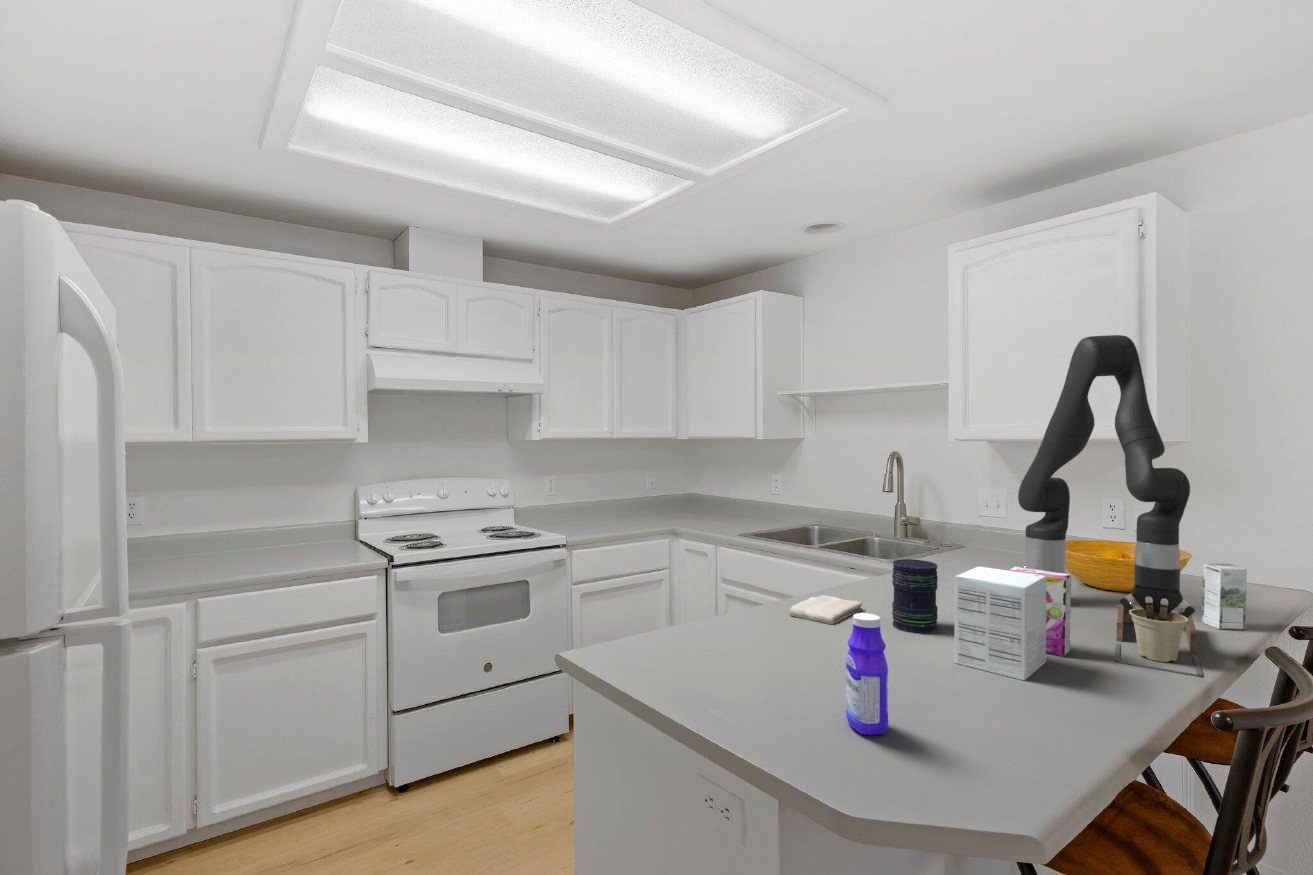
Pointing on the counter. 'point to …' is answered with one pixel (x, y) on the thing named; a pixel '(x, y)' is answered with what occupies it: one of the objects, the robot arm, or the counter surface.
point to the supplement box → (1000, 621)
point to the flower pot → (1158, 635)
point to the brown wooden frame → (1189, 626)
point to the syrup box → (1224, 596)
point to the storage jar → (914, 596)
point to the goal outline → (1196, 661)
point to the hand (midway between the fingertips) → (1155, 646)
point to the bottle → (867, 677)
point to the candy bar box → (1055, 609)
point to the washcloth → (825, 609)
